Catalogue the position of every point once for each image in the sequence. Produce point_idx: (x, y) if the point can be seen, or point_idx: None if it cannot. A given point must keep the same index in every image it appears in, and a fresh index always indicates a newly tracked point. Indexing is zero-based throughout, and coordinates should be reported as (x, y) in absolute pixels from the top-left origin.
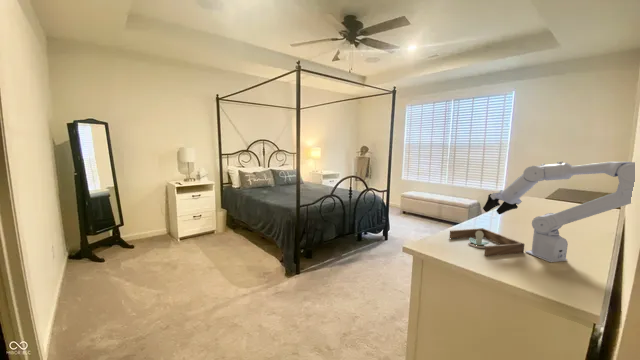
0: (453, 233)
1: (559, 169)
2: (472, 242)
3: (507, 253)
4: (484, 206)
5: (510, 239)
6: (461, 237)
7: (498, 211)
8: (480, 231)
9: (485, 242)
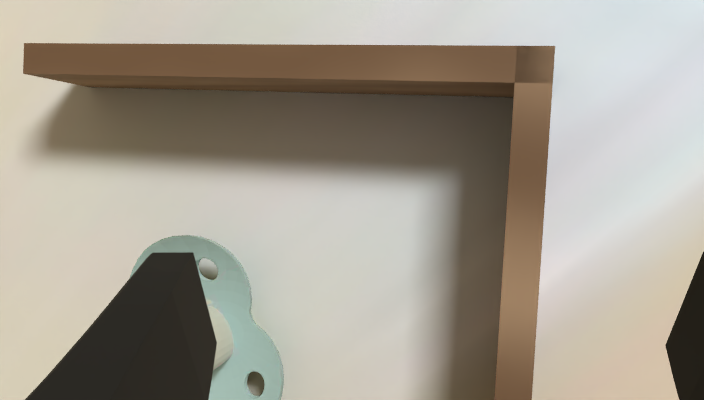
0: (69, 79)
1: None
2: None
3: None
4: (112, 314)
5: None
6: (212, 88)
7: (698, 335)
8: None
9: (273, 370)
